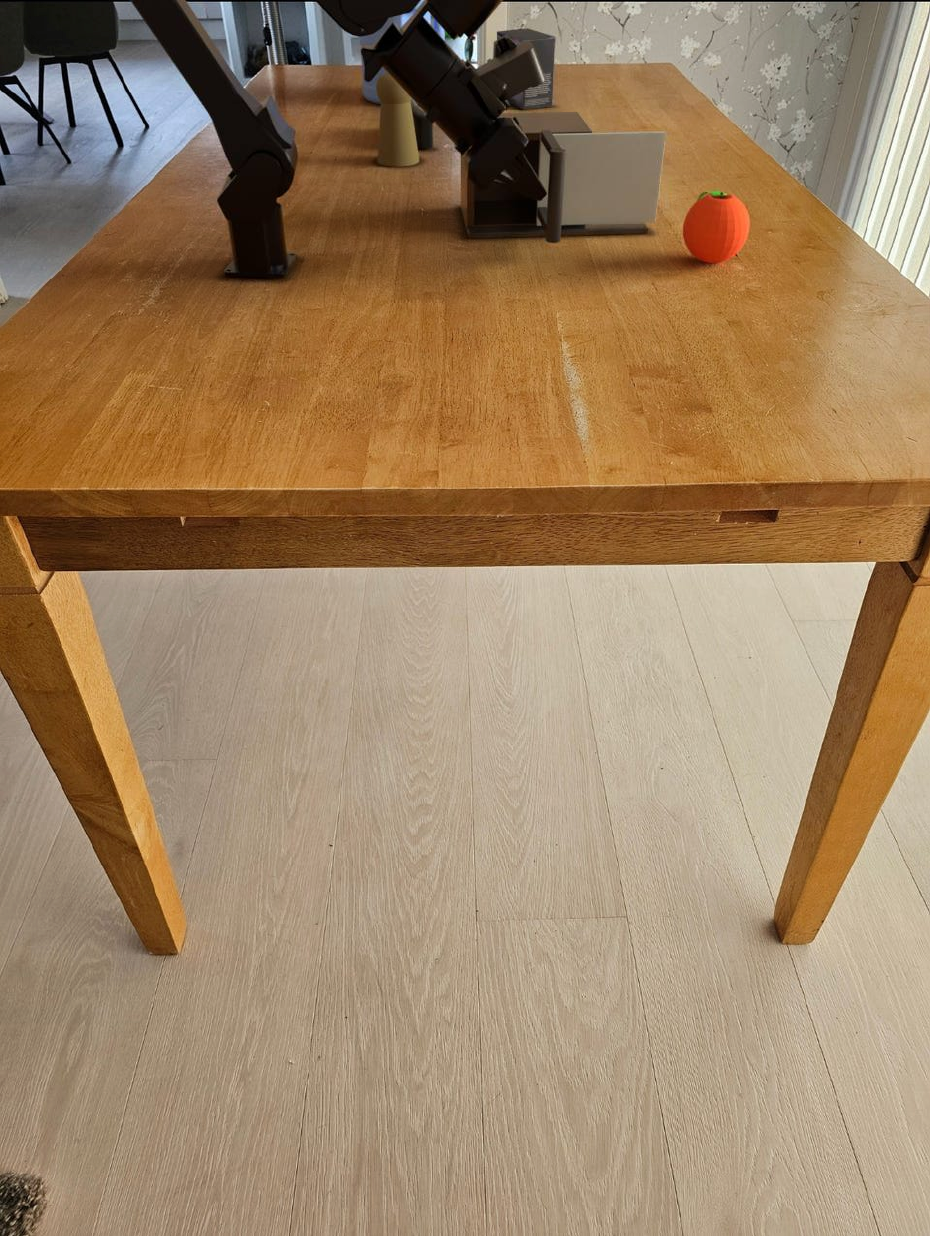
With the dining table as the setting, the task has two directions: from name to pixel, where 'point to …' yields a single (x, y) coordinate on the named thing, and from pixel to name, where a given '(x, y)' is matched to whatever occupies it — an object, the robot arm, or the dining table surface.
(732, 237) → the clementine
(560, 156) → the sliding door
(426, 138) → the mobile phone
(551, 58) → the small box
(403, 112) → the cork
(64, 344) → the dining table surface
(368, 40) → the water jug
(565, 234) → the cabinet
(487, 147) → the robot arm
